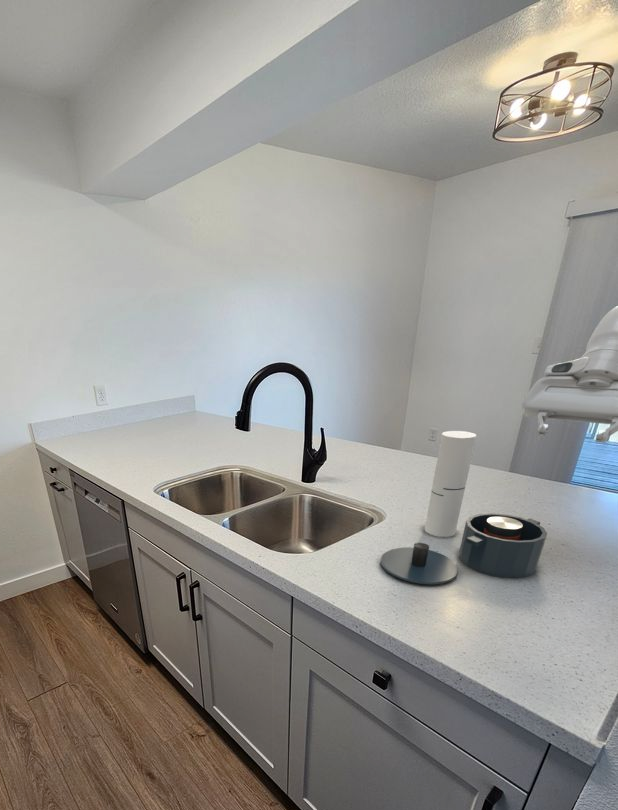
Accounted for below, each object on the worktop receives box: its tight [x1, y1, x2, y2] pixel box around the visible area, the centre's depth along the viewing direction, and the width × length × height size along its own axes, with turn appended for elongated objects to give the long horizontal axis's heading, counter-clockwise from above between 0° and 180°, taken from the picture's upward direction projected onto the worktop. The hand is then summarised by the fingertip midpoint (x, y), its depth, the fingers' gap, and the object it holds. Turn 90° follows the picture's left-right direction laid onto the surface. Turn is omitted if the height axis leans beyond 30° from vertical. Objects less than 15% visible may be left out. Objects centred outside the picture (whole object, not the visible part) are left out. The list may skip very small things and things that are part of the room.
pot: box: [458, 512, 548, 579], centre depth 96 cm, size 15×20×8 cm
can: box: [483, 517, 523, 541], centre depth 95 cm, size 7×7×9 cm
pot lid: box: [380, 542, 459, 585], centre depth 95 cm, size 16×16×6 cm
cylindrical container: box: [424, 430, 477, 538], centre depth 107 cm, size 7×7×25 cm
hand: (569, 437), depth 84 cm, fingers open, 8 cm apart
